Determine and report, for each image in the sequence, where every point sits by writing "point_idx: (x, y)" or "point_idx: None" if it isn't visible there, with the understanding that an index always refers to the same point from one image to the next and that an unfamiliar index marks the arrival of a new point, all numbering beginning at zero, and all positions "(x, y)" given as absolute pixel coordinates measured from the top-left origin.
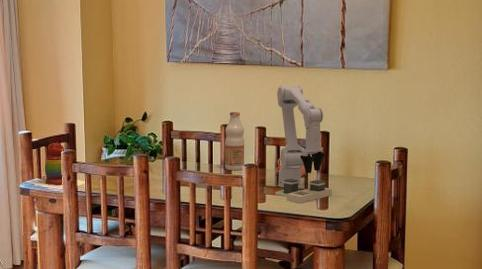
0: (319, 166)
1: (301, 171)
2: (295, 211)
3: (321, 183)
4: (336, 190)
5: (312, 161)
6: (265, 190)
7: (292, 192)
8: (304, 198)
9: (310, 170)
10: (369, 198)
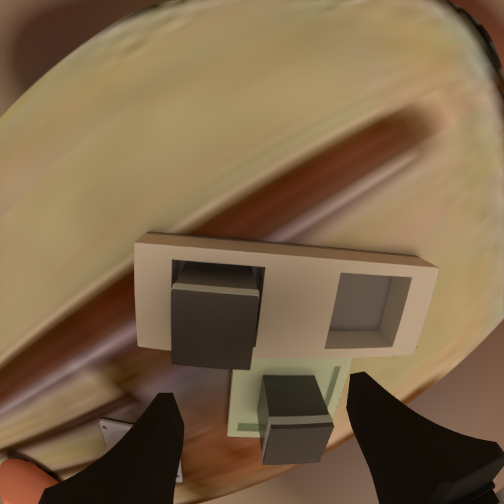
0: (162, 419)
1: (23, 470)
2: (496, 208)
3: (217, 291)
4: (29, 290)
5: (424, 442)
6: (261, 477)
7: (310, 386)
8: (405, 261)
9: (378, 385)
10: (58, 63)
